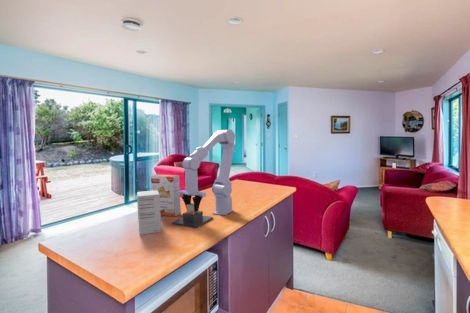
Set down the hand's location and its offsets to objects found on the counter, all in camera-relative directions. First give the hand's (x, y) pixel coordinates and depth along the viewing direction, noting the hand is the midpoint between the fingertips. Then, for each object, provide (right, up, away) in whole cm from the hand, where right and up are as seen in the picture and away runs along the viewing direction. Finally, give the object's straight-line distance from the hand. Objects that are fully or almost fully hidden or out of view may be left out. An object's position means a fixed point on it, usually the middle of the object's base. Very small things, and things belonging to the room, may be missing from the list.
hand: (192, 210), depth 127 cm
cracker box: (-16, -5, +13) cm, 21 cm away
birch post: (0, -4, 0) cm, 4 cm away
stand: (0, -5, 0) cm, 5 cm away
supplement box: (-17, -7, -10) cm, 21 cm away
